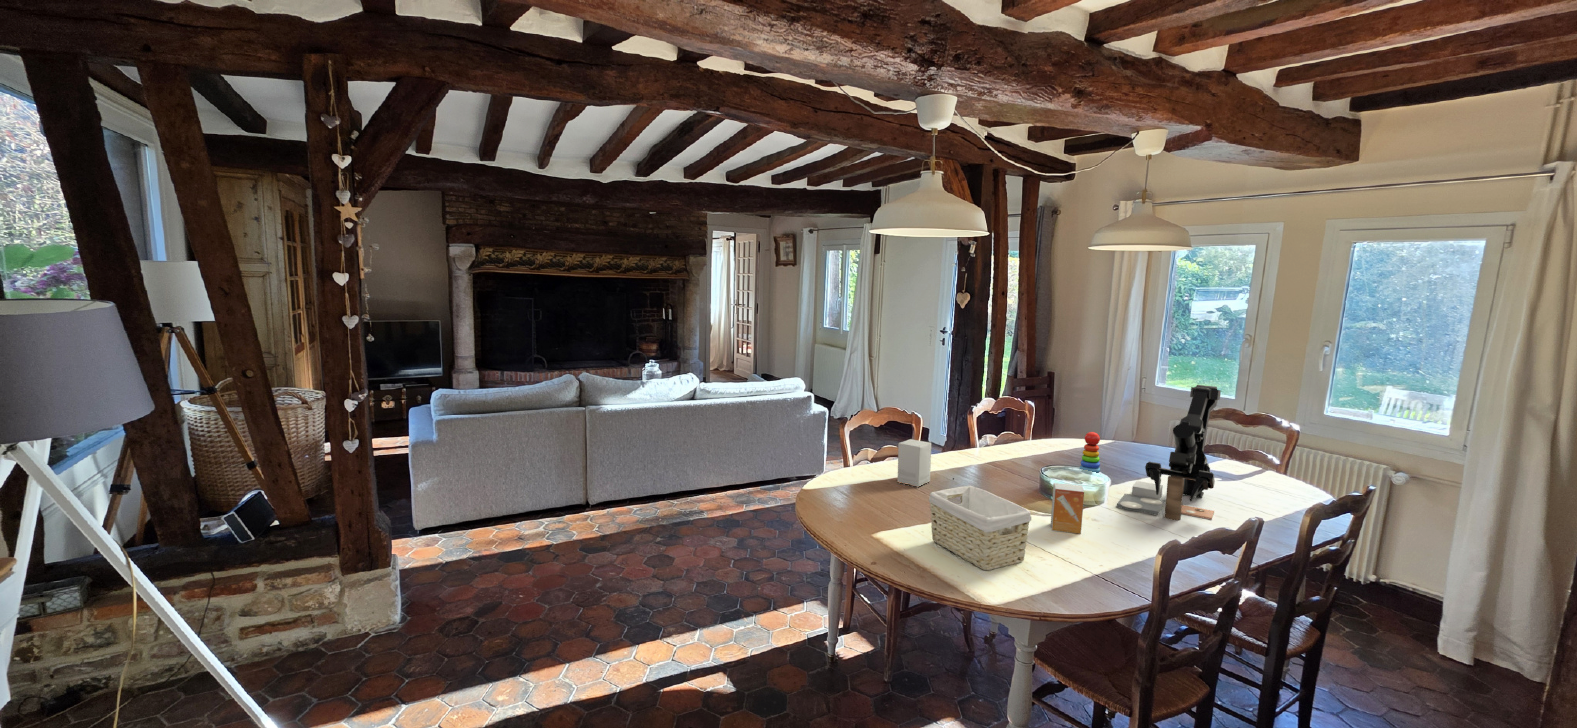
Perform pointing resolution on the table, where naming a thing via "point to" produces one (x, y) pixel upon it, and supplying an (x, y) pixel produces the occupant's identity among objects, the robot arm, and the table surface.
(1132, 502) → the slate board
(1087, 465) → the stacking toy
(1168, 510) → the walnut pin
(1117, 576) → the table surface
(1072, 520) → the small box
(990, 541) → the storage basket
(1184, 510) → the tile
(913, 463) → the supplement box
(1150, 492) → the cover
